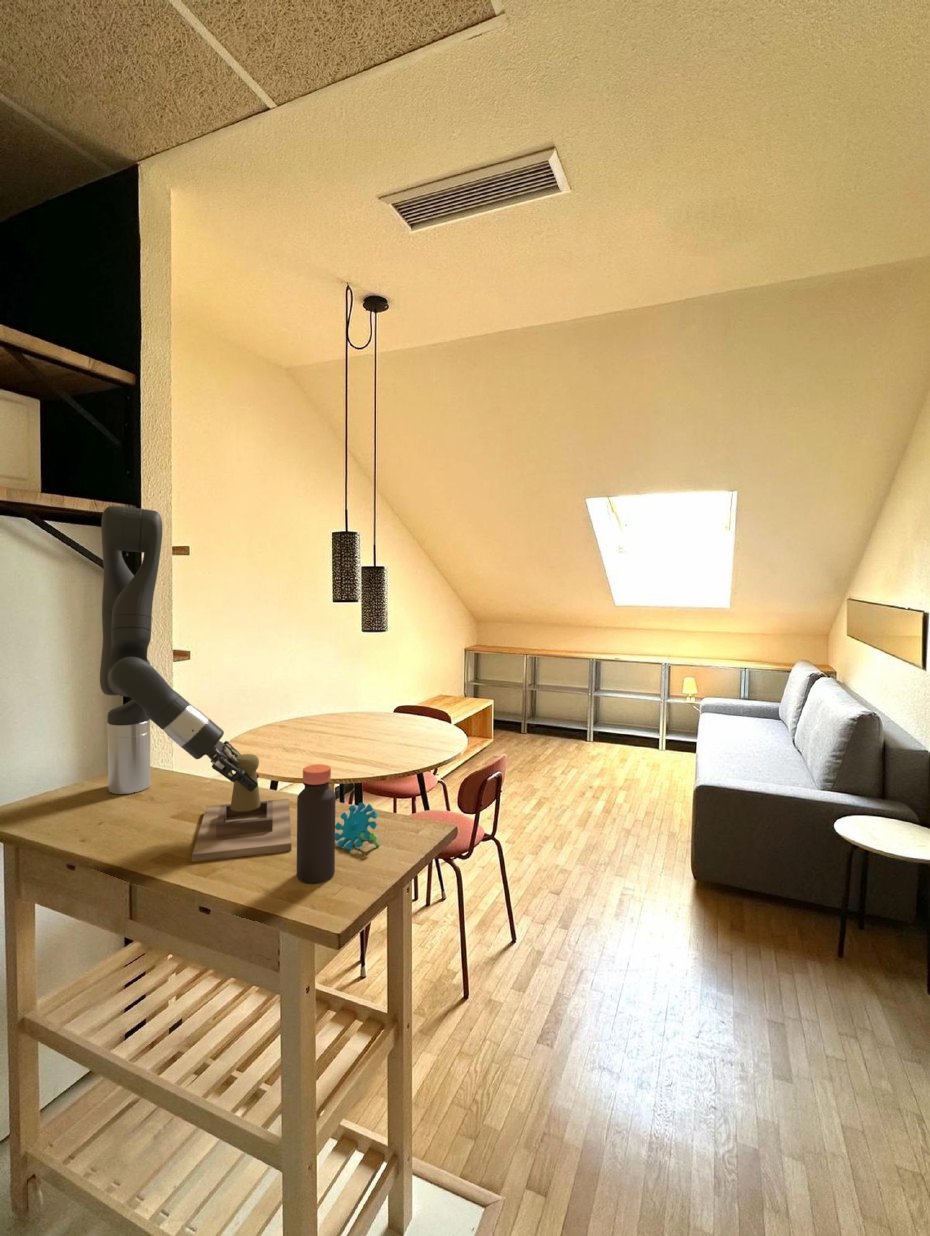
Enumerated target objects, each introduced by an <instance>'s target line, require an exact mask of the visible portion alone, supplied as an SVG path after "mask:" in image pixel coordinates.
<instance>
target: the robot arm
mask: <svg viewBox="0 0 930 1236" xmlns="http://www.w3.org/2000/svg"><path fill="white" fill-rule="evenodd" d="M100 525H101V527H100V528H101V544H102V546H101V547H102V562H103V580H102V581H103V585H102V597H101V598H102V599H101V623H102V624H101V625H102V648H101V657H100V658H101V659H100V666H99V667H100V670H99V685H100V689H101V692H102V694H104V695H106V696H119V697H120V696H121V697H127V698H128V697H129V698H130V700H129V701H128V702H126V703H124V704H122V705H120V706H117V707H115V708H112V709H110V710H109V711H108V712H107V716H106V717H107V719H106V720H107V775H108V776H107V779H108V780H107V782H108V783H107V788H108V790H109V791H108V792H109V793H110V792H112V793H111V794H113V793H114V794H115V795H127V794H134V792H135V793H138V792H142V791H144V790H147V789H149V788H150V787H151V722H152V723H153V724H155V725H156V726H158V727H159V729H161V730H163V732H164V733H166V735H167V736H168V737H169V738H170V739H171V740H172V741H173V742H174V743H175V744H176V745H178V746H179V748H182V749H183V751H185V752H187V754H189V755H190V756H191V757H192V758H193V759H195V760H200V759H201V758H203V757H204V756H207V757H208V759H210V762H211V764H212V765H211V768H212V769H213V770H214V771H216V772H217V773H219V774H220V775H221V776H223V777H224V778H226V779H227V780H229V781H230V782H231V783H233V784H234V782H235V781H236V782H237V781H238V782H239V783H240V784H241V785H243V786H244V787H245V788H246V789H247V790H249V791H250V792H251V791H253V790H254V789H255V788H256V787H257V786H258V787H259V783H258V782H257V781H258V779H259V777H260V775H259V773H257V781H256V780H254V779H253V778H252V777H251V776H250V775H248V774H247V773H246V772H245V770H243V769H242V768H241V767H240V766H239V761H238V760H237V759H236V757H237V756H239V755H242V754H241V753H240V752H239V751H238V750H237V749H236V748H235V746H233V745H232V744H231V743H230V742H229V741H227V740H225V741H224V742H222V741H221V739H222V738H223V736H224V734H225V732H224V730H223V729H222V728H221V727H220V726H218V725H217V723H215V722H214V721H213V720H212V719H210V718H209V717H208V716H207V715H206V714H205V713H204V712H202V711H201V710H199V708H197V707H196V706H194V705H193V704H191V703H190V702H189V701H188V700H187V699H185V698H184V697H183V696H182V695H181V694H180V693H178V692H177V691H176V690H174V689H173V688H172V687H171V686H170V685H169V684H168V682H167V681H166V680H165V679H164V678H163V676H162V674H160V673H159V672H158V671H157V670H156V669H155V667H153V666H152V665H151V662H150V660H149V659H148V650H149V646H150V643H151V639H152V623H153V621H152V620H153V619H152V618H153V602H154V595H155V588H156V583H157V579H158V574H159V573H158V572H159V565H160V558H161V550H162V542H163V519H162V517H161V514H160V513H159V511H157V510H152V509H145V508H136V507H128V506H121V505H109V506H107V507H105V509H104V510H103V511H102V516H101V523H100ZM121 551H122V552H123V551H124V552H132V553H133V552H135V553H143V559H142V562H141V565H140V566H139V568H138V570H137V571H136V573H135V574H134V573H132V571H131V570H130V569H129V567H128V565H127V564H126V562H125V560H124V558H123V555H122V552H121ZM233 771H234V772H235V773H234V772H233ZM114 794H113V795H114Z"/></svg>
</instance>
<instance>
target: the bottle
mask: <svg viewBox="0 0 930 1236" xmlns="http://www.w3.org/2000/svg"><path fill="white" fill-rule="evenodd" d="M331 772H332V769H331V766H330V765H327V764H322V763H319V764H318V763H316V764H310V765H307V766H305V767H304V768H303V769H302V784H303V786H304V788H303V789H302V790H301V791H300V792H299V794H298V795H297V798H296V799H297V800H296V801H297V802H296V877H297V879H298V880H299V881H300V882H301V883H304V884H311V885H314V884H320V883H324V882H327V881H329V880H330V879H331V878H332V877H334V874H335V868H336V867H335V866H336V865H335V864H336V861H335V860H336V859H335V858H336V850H335V849H336V840H335V833H336V828H335V825H336V800H337V799H336V795H337V794H336V793H335V790H333V789H332V788H331V787H330V785H329V784H330V783H331V778H332V777H331V774H332V773H331Z"/></svg>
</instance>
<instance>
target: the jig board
mask: <svg viewBox="0 0 930 1236" xmlns="http://www.w3.org/2000/svg"><path fill="white" fill-rule="evenodd" d="M260 804H261V805H260V807H259V808H257V809H254V810H251V811H244V812H238V811H233V810H231V808H230V807H231V803H225V804H217V805H207V806H206V808H205V810H204V813H203V817H202V820H201V824H200V827H199V829H198V830H199V831H198V834H197V837H196V840H195V844H194V848H193V851H192V855H191V857H192V858H191V862H192V863H196V862H197V863H198V862H206V861H215V860H221V859H230V858H238V857H248V856H256V855H264V854H265V855H267V854H271V853H273V854H274V853H282V852H290V851H292V832H291V817H290V814H291V813H290V812H291V811H290V799H289V798H282V799H281V798H280V799H271V800H260Z"/></svg>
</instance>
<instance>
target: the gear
mask: <svg viewBox="0 0 930 1236" xmlns="http://www.w3.org/2000/svg"><path fill="white" fill-rule="evenodd" d="M348 811H349V814H348V813H346V812H343V813H342V814H340V815H339V816H340V818H341V820H343V825H342V823H340V822H336V823H335V830H336V831H342V832H341V833H338V832H335V842H337V846H338V847H339V848H340V849H344V848H345V849H346V850H348V851H350V852H351V851H352V850H353V848H354V847H353V846H354V845H355V847H356V848H361V847H363V841H366V842H367V843H369V844H370V845H375V846H376V847H378V848H379V847H380V846H381V844H380V843H379V842H378V841H377V839H378V836H377V835H376V834H375V833H373V832H370V831H369V830H368V827H370V828H371V829H372V830H376V828H377V826H378V822H376V821H375V819H377V818H378V812H376V810H374V807H373V805H371V804H370V803H368V804H367V805H366V804H365V803H364V802H362V801H361V802H359V803H358V806H357V807H356V806H355V805H350V806H349V807H348ZM369 812H370V813H369ZM371 818H372V819H374V820H372V821H370V819H371ZM343 838H344V839H343ZM341 839H342V840H341Z"/></svg>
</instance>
